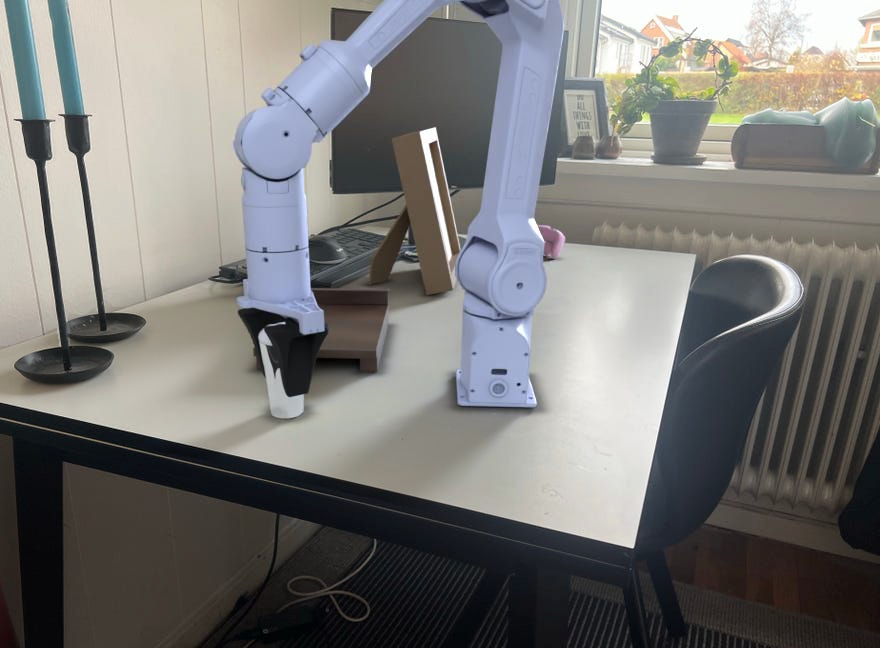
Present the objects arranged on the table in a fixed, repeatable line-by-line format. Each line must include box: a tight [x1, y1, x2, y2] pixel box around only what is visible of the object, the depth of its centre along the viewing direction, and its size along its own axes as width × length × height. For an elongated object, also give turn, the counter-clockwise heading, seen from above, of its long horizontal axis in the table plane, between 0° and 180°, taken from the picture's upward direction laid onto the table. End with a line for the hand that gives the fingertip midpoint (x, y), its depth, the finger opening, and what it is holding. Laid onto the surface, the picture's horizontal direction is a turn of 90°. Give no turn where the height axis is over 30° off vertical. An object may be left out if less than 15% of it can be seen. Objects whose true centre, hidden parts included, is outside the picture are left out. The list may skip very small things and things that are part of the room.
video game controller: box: [536, 224, 566, 260], centre depth 143 cm, size 10×5×7 cm, turn 58°
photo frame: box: [368, 126, 462, 296], centre depth 120 cm, size 15×22×25 cm
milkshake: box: [258, 322, 305, 420], centre depth 69 cm, size 4×5×10 cm
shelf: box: [252, 287, 390, 373], centre depth 89 cm, size 20×14×5 cm
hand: (285, 384), depth 69 cm, fingers closed on milkshake, 5 cm apart
